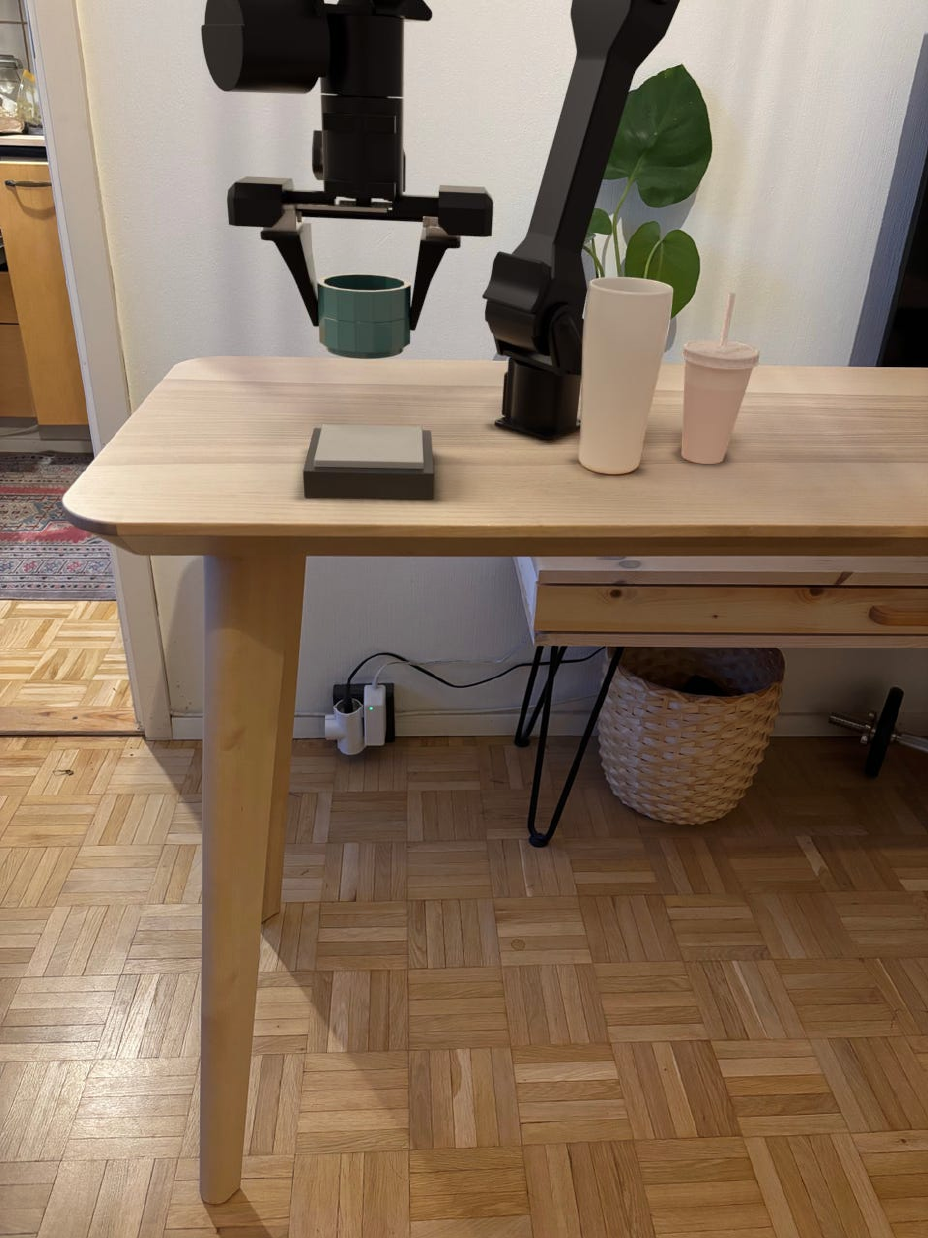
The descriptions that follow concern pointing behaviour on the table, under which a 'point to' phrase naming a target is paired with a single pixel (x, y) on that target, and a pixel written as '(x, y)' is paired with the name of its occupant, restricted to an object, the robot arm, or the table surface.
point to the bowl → (364, 315)
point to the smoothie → (714, 392)
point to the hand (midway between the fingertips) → (365, 327)
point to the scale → (369, 462)
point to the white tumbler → (620, 368)
